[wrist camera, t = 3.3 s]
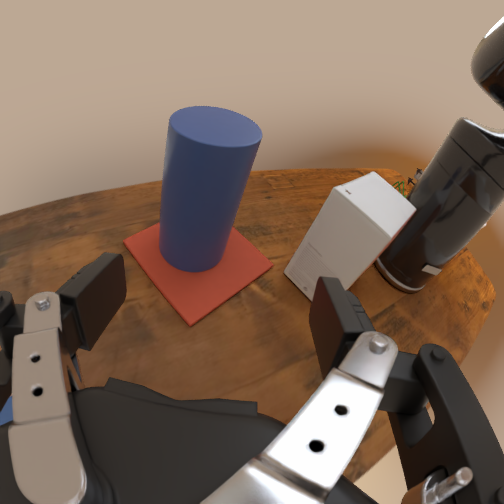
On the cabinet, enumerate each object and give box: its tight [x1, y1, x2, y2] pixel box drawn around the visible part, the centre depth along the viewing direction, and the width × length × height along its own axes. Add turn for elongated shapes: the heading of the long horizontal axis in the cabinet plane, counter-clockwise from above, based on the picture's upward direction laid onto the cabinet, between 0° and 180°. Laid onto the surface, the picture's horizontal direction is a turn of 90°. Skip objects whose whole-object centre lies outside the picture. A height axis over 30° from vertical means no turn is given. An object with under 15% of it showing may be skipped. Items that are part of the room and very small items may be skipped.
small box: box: [284, 171, 416, 301], centre depth 24 cm, size 8×6×10 cm
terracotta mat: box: [123, 223, 274, 327], centre depth 25 cm, size 10×10×1 cm
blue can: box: [159, 106, 262, 272], centre depth 20 cm, size 6×6×12 cm
